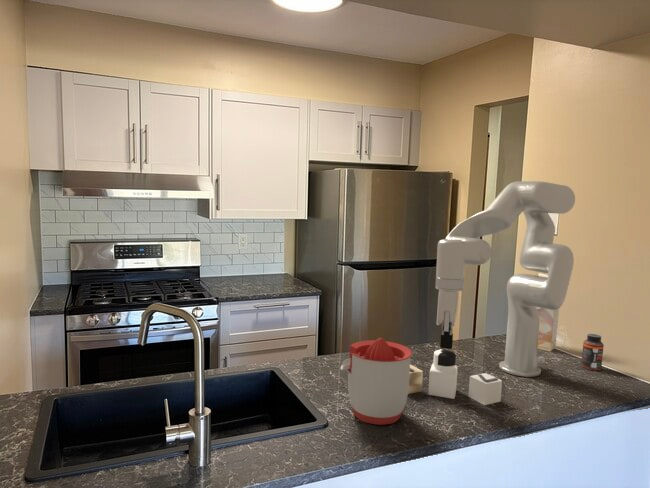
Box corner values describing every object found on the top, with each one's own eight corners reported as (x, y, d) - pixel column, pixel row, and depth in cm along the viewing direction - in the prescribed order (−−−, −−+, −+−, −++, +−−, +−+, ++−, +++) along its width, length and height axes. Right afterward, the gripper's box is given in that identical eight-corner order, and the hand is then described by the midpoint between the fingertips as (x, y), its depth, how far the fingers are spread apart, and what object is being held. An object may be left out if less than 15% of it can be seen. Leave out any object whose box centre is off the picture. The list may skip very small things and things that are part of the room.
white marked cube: (484, 393, 136) (485, 372, 135) (500, 401, 130) (502, 379, 130) (468, 396, 133) (469, 375, 132) (484, 405, 127) (486, 382, 127)
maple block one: (408, 383, 141) (409, 363, 140) (421, 391, 135) (422, 370, 135) (392, 386, 138) (393, 365, 137) (404, 394, 132) (405, 373, 132)
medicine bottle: (456, 389, 137) (458, 349, 136) (454, 399, 130) (457, 357, 129) (431, 385, 139) (433, 346, 138) (428, 395, 133) (430, 353, 131)
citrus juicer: (338, 400, 127) (341, 327, 125) (403, 403, 127) (407, 330, 125) (338, 428, 112) (342, 345, 110) (412, 432, 111) (417, 349, 109)
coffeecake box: (509, 342, 185) (513, 293, 183) (515, 339, 190) (519, 291, 188) (550, 352, 175) (555, 300, 173) (556, 347, 180) (560, 297, 178)
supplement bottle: (599, 372, 155) (602, 339, 154) (579, 368, 159) (582, 335, 158) (603, 368, 160) (606, 335, 159) (583, 363, 164) (586, 331, 162)
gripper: (437, 278, 140) (434, 338, 142) (433, 287, 126) (430, 354, 128) (464, 280, 138) (460, 341, 140) (462, 289, 124) (459, 358, 126)
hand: (446, 347), depth 134 cm, fingers closed
